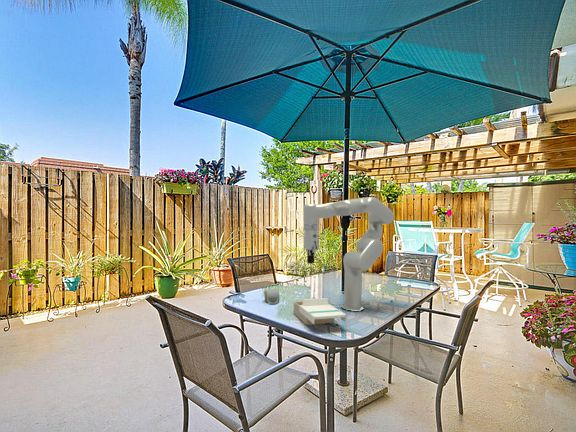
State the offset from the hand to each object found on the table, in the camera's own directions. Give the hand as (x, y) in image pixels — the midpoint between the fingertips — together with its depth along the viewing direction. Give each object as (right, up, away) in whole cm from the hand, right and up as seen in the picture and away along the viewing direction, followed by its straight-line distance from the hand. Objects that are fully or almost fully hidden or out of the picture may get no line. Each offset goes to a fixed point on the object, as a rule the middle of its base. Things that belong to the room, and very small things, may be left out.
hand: (310, 262), depth 159 cm
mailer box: (0, -26, -9) cm, 27 cm away
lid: (+4, -22, -19) cm, 29 cm away
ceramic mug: (-21, -26, +18) cm, 38 cm away
